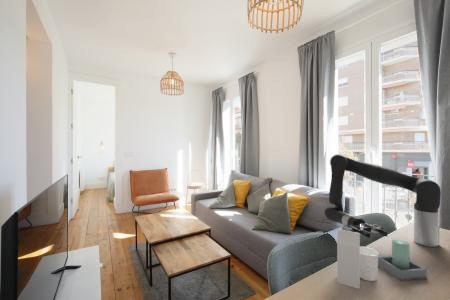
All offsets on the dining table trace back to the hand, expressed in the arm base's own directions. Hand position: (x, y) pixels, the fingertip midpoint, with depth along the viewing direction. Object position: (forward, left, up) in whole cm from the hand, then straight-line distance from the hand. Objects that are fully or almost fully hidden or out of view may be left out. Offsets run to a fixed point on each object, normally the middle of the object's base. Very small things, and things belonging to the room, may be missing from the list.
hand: (378, 234), depth 100 cm
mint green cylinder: (+1, +12, -9) cm, 15 cm away
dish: (+1, +12, -10) cm, 15 cm away
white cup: (+17, +13, -10) cm, 23 cm away
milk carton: (+26, +15, -10) cm, 31 cm away
